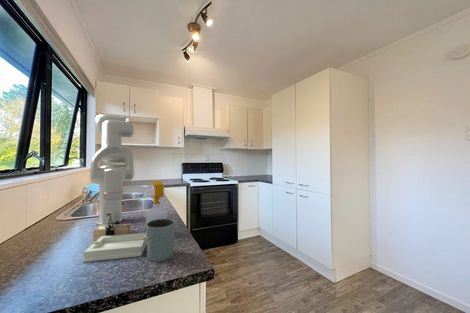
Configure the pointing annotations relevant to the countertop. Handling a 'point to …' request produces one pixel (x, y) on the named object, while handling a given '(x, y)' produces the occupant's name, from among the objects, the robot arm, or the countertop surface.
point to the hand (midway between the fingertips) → (113, 235)
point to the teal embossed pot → (160, 239)
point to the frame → (118, 230)
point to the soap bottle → (157, 203)
